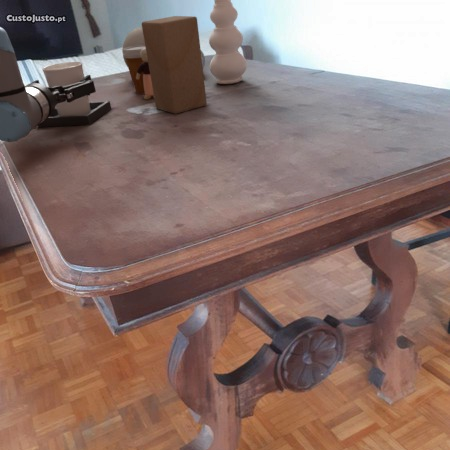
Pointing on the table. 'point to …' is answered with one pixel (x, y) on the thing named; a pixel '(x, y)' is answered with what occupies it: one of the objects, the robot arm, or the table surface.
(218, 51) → the vase
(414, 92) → the table surface
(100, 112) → the black tray
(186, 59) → the wooden block
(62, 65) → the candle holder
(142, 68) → the grandmother figurine
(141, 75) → the disposable coffee cup
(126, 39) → the decorative sphere
